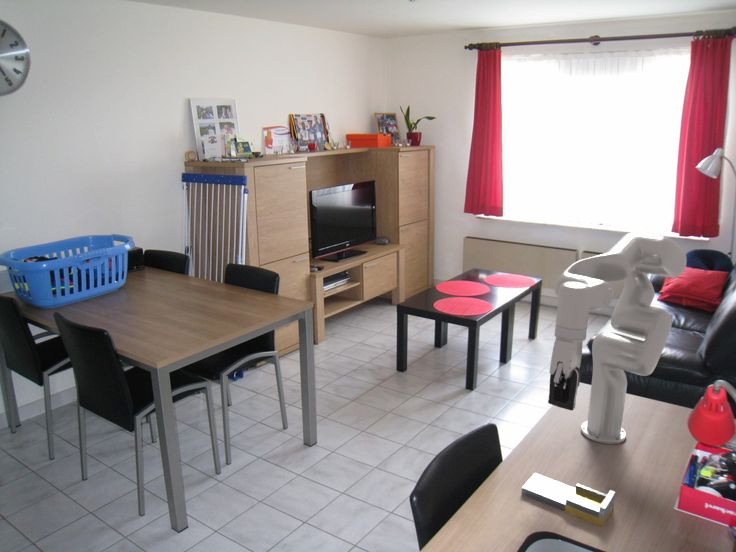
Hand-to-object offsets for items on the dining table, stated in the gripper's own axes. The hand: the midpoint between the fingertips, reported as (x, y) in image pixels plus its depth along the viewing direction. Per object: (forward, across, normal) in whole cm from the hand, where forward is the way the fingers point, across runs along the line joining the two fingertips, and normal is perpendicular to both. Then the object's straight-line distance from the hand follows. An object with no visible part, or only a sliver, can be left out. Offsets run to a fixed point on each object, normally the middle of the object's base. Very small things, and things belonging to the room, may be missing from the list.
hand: (563, 397), depth 155 cm
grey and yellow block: (+22, +11, +7) cm, 25 cm away
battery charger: (+3, 0, 0) cm, 3 cm away
